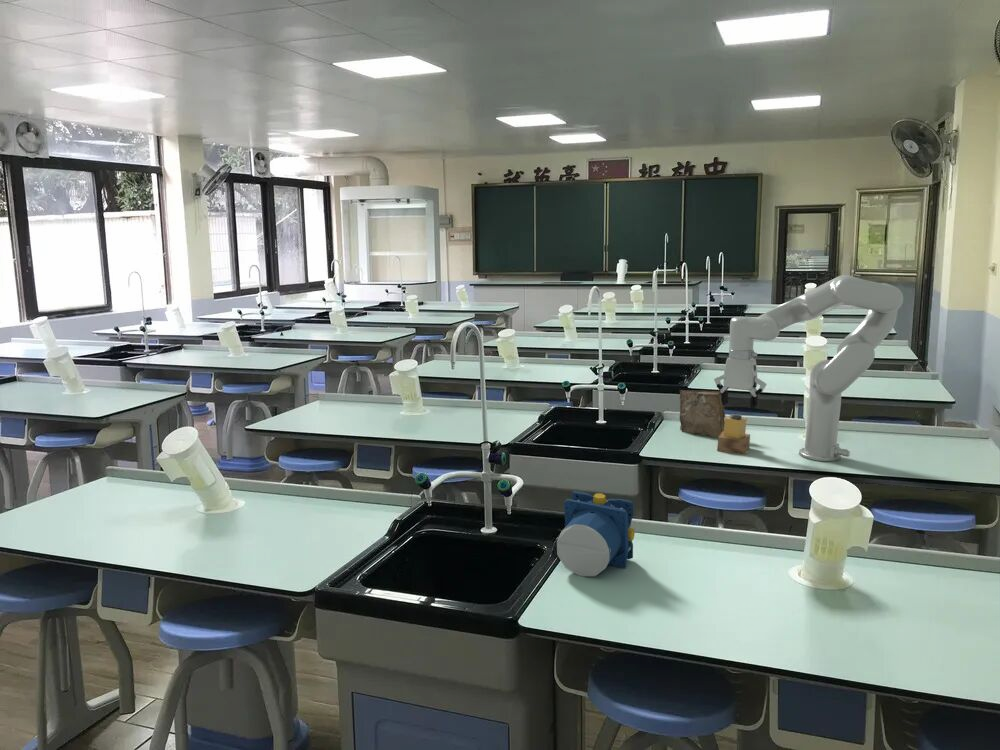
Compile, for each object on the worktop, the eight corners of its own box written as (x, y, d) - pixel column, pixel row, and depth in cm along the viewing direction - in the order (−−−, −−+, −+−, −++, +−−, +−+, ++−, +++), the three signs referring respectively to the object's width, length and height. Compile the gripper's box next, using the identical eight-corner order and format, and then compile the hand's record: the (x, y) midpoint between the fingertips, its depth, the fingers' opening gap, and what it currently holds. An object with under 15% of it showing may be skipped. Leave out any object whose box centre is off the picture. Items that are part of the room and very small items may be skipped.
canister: (745, 435, 265) (746, 415, 263) (738, 438, 261) (739, 418, 260) (730, 433, 268) (731, 412, 267) (723, 435, 264) (725, 415, 263)
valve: (572, 545, 183) (571, 485, 178) (636, 558, 176) (636, 497, 171) (548, 574, 172) (546, 511, 167) (615, 590, 165) (615, 525, 160)
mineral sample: (726, 436, 282) (729, 392, 279) (723, 439, 278) (726, 394, 275) (678, 429, 291) (680, 386, 288) (674, 431, 287) (676, 388, 284)
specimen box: (749, 448, 268) (750, 434, 267) (745, 455, 260) (746, 440, 259) (721, 445, 271) (722, 431, 270) (717, 451, 263) (718, 437, 262)
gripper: (771, 355, 257) (769, 407, 260) (720, 351, 267) (718, 400, 271) (762, 358, 251) (760, 411, 254) (711, 354, 262) (709, 404, 265)
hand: (738, 405), depth 262 cm, fingers open, 9 cm apart
